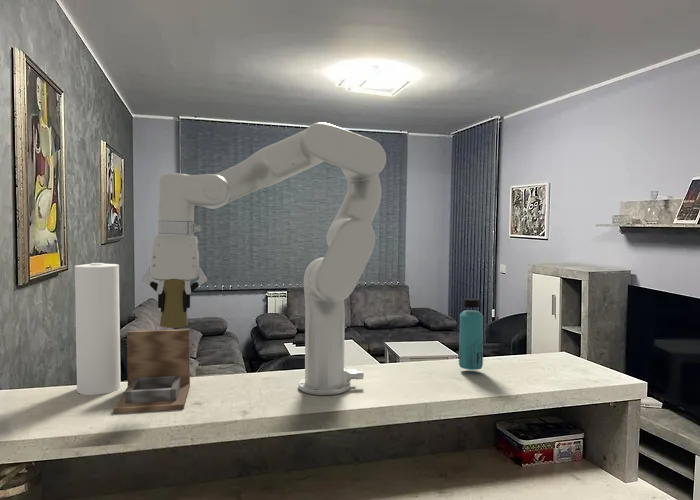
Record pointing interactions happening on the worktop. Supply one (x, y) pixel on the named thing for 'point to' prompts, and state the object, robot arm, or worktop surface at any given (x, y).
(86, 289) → the cylinder container
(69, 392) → the worktop surface
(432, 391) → the worktop surface
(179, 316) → the cork
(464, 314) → the beverage bottle
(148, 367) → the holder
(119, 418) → the worktop surface
